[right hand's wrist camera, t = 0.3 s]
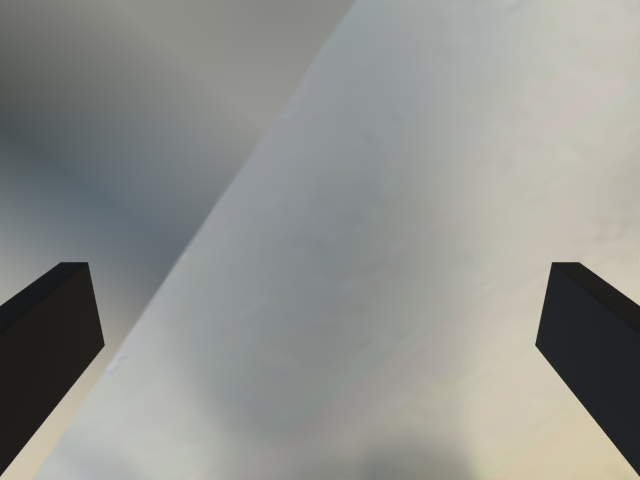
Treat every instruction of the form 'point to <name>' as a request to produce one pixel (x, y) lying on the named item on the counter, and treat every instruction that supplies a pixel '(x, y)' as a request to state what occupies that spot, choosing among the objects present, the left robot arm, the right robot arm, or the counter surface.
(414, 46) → the counter surface
